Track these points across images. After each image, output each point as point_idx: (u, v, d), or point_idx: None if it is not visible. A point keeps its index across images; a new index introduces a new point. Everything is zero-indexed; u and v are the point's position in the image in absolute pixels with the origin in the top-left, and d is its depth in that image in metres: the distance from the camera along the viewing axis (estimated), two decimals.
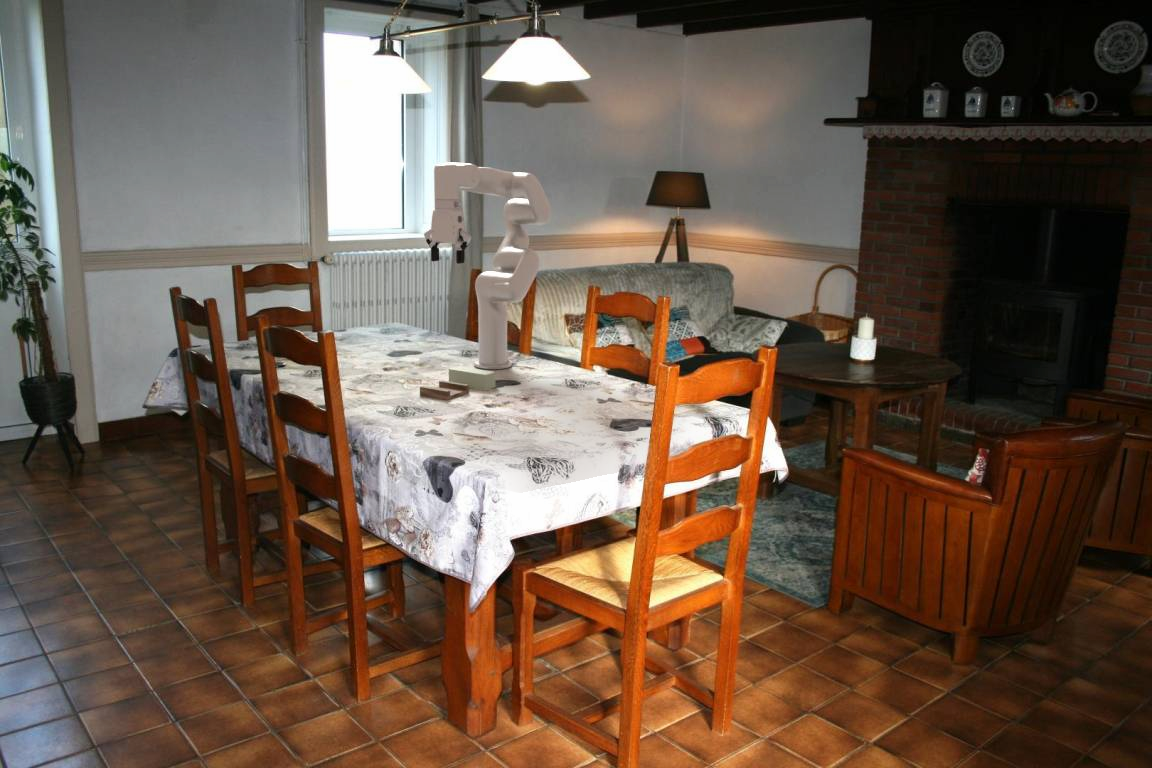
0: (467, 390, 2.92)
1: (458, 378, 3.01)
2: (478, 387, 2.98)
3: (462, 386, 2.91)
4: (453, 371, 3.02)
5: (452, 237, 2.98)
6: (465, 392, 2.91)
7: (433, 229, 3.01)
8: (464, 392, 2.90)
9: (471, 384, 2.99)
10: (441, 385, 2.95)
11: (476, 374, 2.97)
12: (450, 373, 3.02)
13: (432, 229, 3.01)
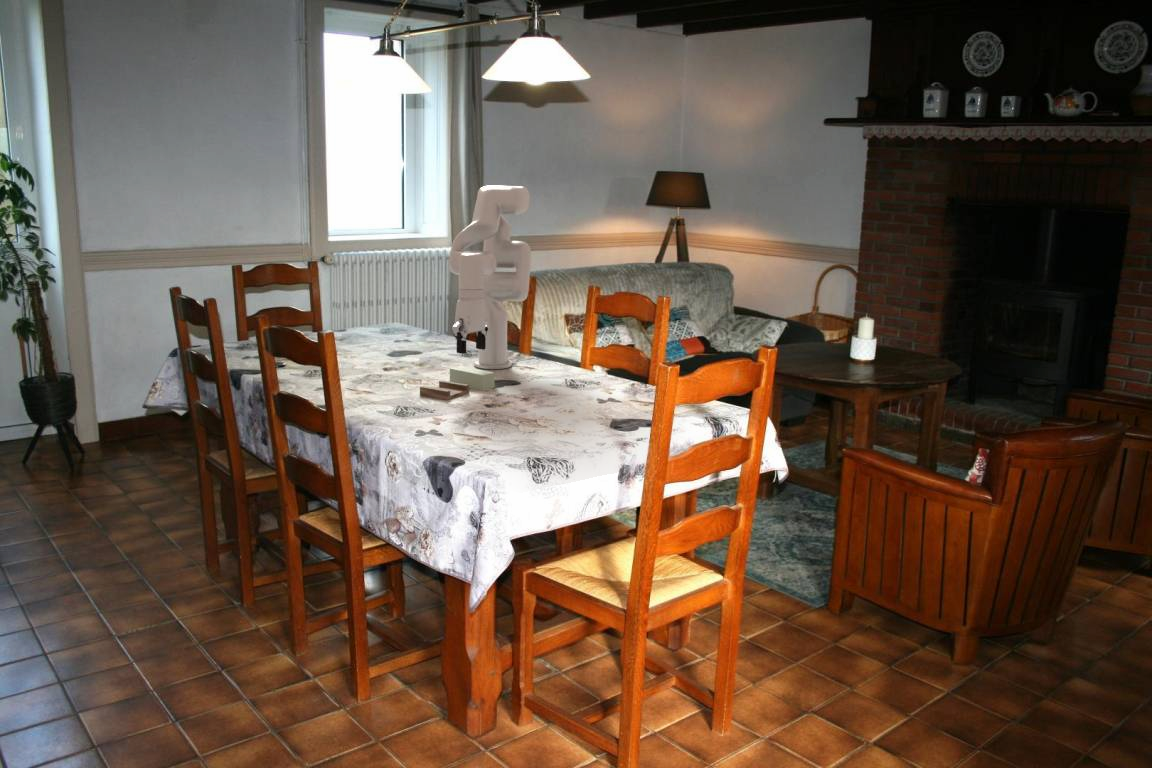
0: (467, 390, 2.92)
1: (458, 377, 3.01)
2: (476, 387, 2.97)
3: (462, 386, 2.91)
4: (454, 371, 3.02)
5: (483, 324, 2.99)
6: (465, 392, 2.91)
7: (470, 320, 2.93)
8: (464, 392, 2.90)
9: (470, 384, 2.99)
10: (441, 385, 2.95)
11: (474, 374, 2.97)
12: (451, 372, 3.03)
13: (468, 320, 2.92)
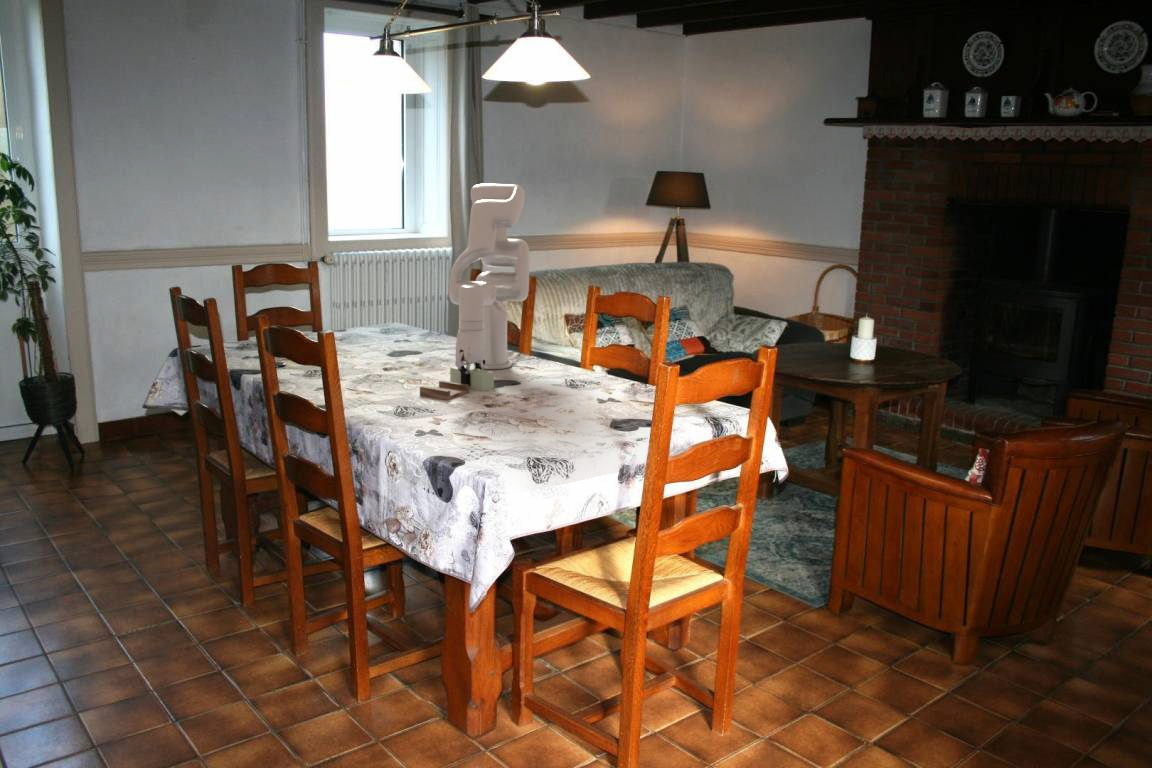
0: (467, 390, 2.92)
1: (458, 377, 3.01)
2: (475, 387, 2.97)
3: (462, 386, 2.91)
4: (454, 370, 3.02)
5: (484, 354, 3.02)
6: (465, 392, 2.91)
7: (470, 351, 2.95)
8: (464, 392, 2.90)
9: None
10: (441, 385, 2.95)
11: (474, 373, 2.97)
12: (451, 371, 3.03)
13: (469, 352, 2.95)
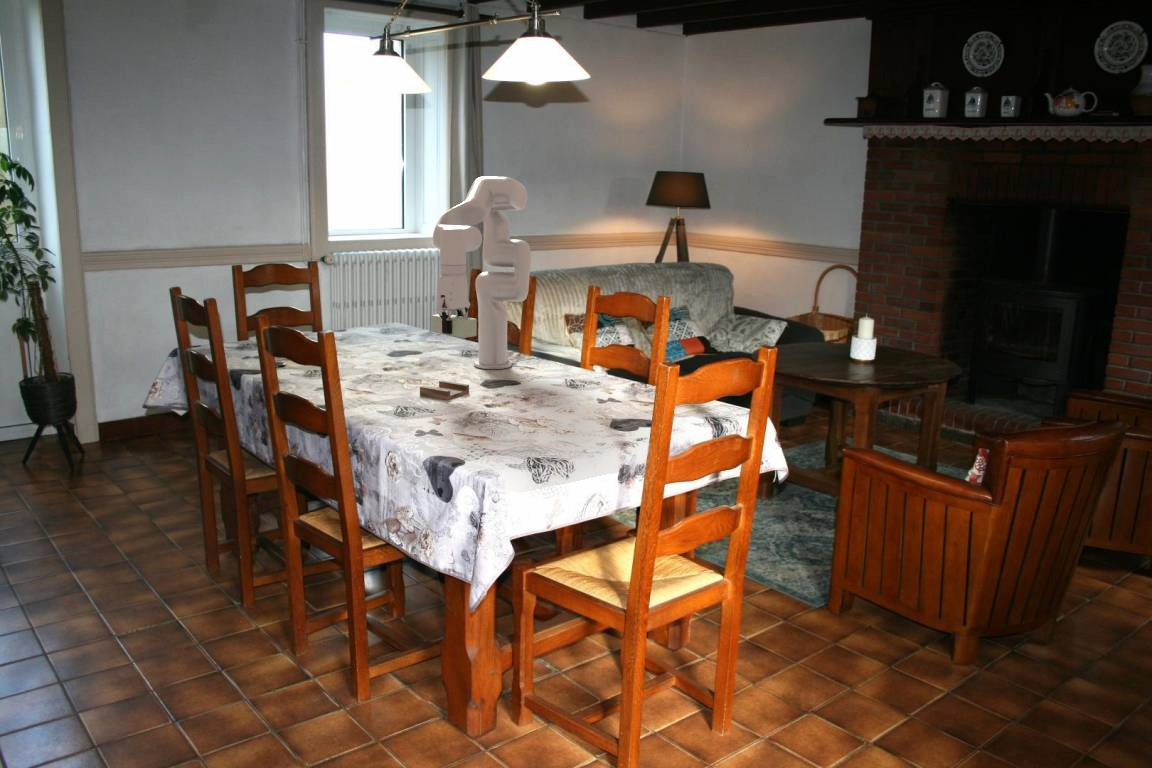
0: (467, 390, 2.92)
1: (439, 324, 2.90)
2: (457, 334, 2.86)
3: (462, 386, 2.91)
4: (435, 317, 2.91)
5: (466, 301, 2.90)
6: (465, 392, 2.91)
7: (452, 297, 2.84)
8: (464, 392, 2.90)
9: None
10: (441, 385, 2.95)
11: (455, 320, 2.85)
12: (432, 319, 2.92)
13: (450, 297, 2.83)
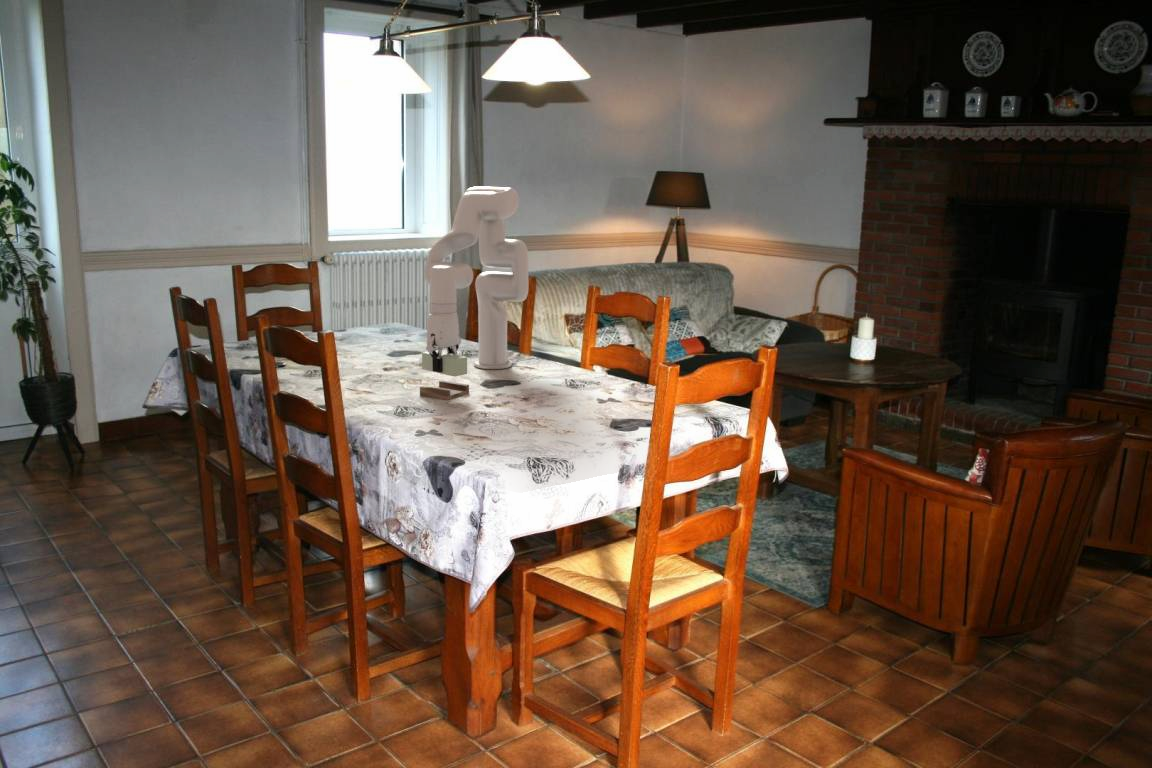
0: (467, 390, 2.92)
1: (430, 362, 2.89)
2: (448, 372, 2.84)
3: (462, 386, 2.91)
4: (426, 355, 2.89)
5: (457, 339, 2.89)
6: (465, 392, 2.91)
7: (442, 336, 2.82)
8: (464, 392, 2.90)
9: None
10: (441, 385, 2.95)
11: (446, 358, 2.84)
12: (423, 357, 2.90)
13: (441, 336, 2.82)
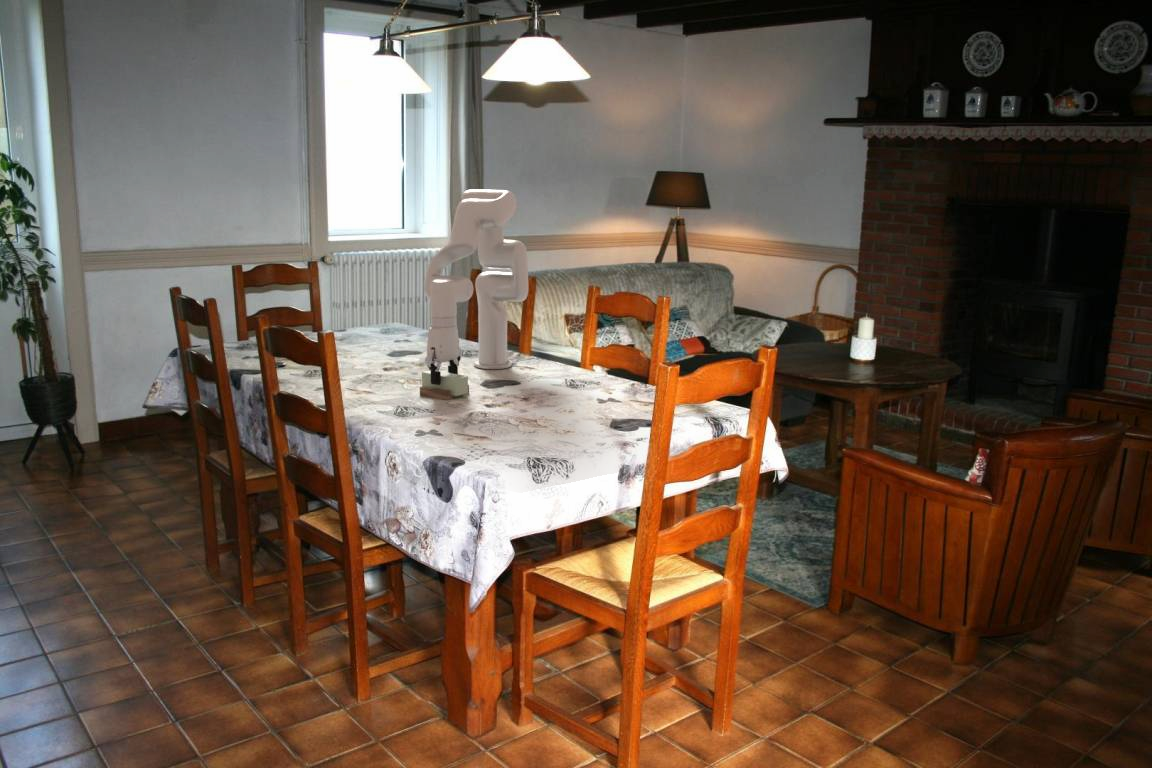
0: None
1: (430, 381, 2.90)
2: None
3: None
4: (426, 374, 2.91)
5: (457, 352, 2.90)
6: None
7: (442, 349, 2.83)
8: None
9: (442, 388, 2.87)
10: None
11: (447, 378, 2.85)
12: (423, 376, 2.92)
13: (441, 350, 2.83)
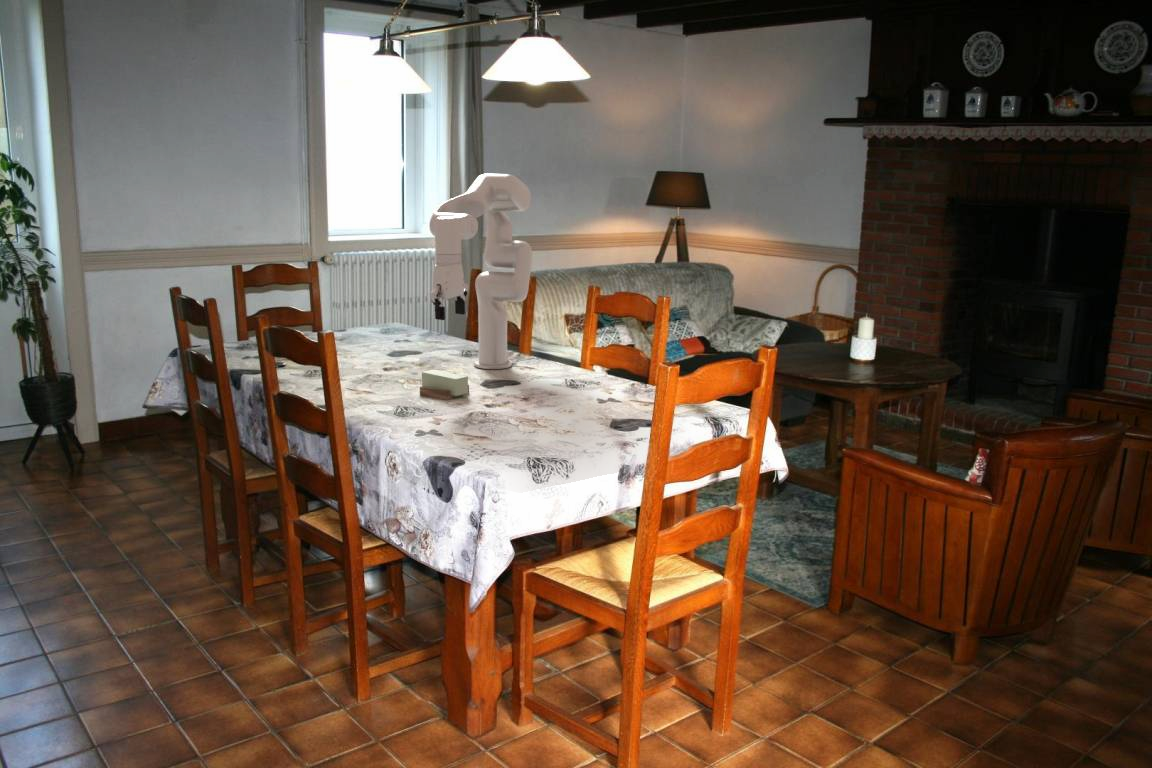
0: None
1: (430, 381, 2.90)
2: None
3: None
4: (426, 374, 2.91)
5: (462, 289, 2.93)
6: None
7: (447, 286, 2.86)
8: None
9: (442, 388, 2.87)
10: None
11: (447, 378, 2.85)
12: (423, 376, 2.92)
13: (446, 286, 2.86)
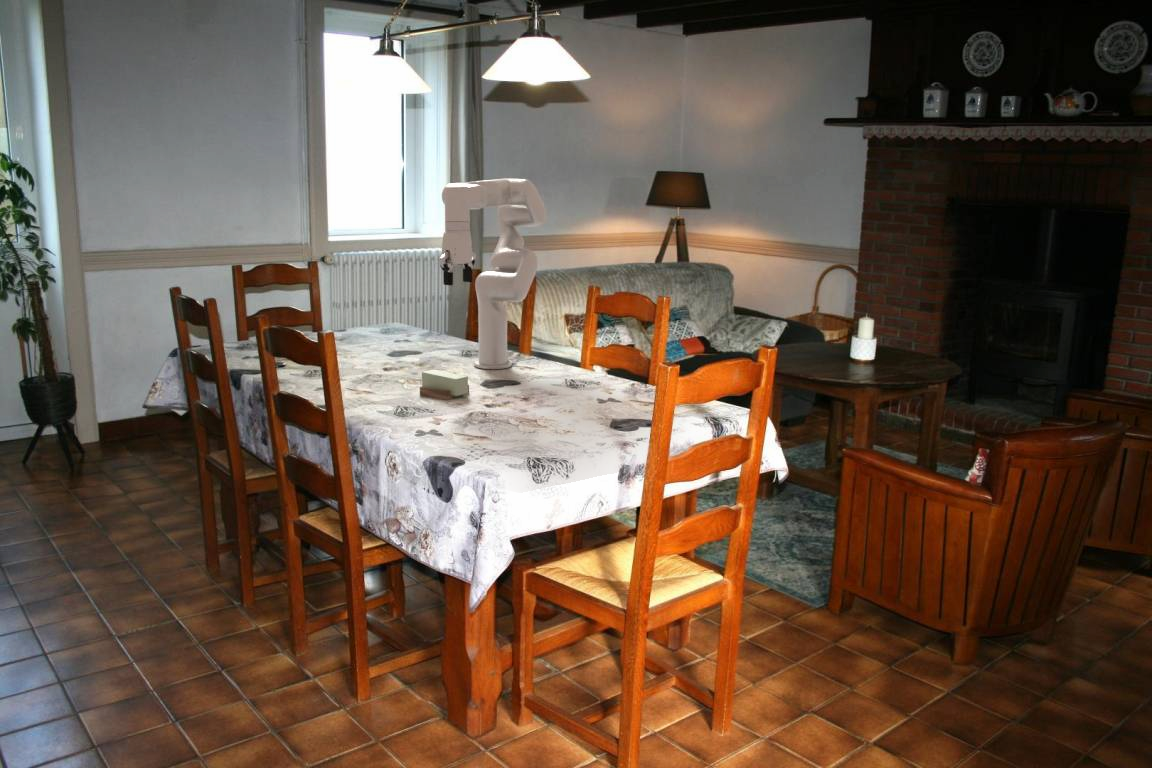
0: None
1: (430, 381, 2.90)
2: None
3: None
4: (426, 374, 2.91)
5: (470, 257, 3.03)
6: None
7: (456, 252, 2.96)
8: None
9: (442, 388, 2.87)
10: None
11: (447, 378, 2.85)
12: (423, 376, 2.92)
13: (455, 252, 2.96)
